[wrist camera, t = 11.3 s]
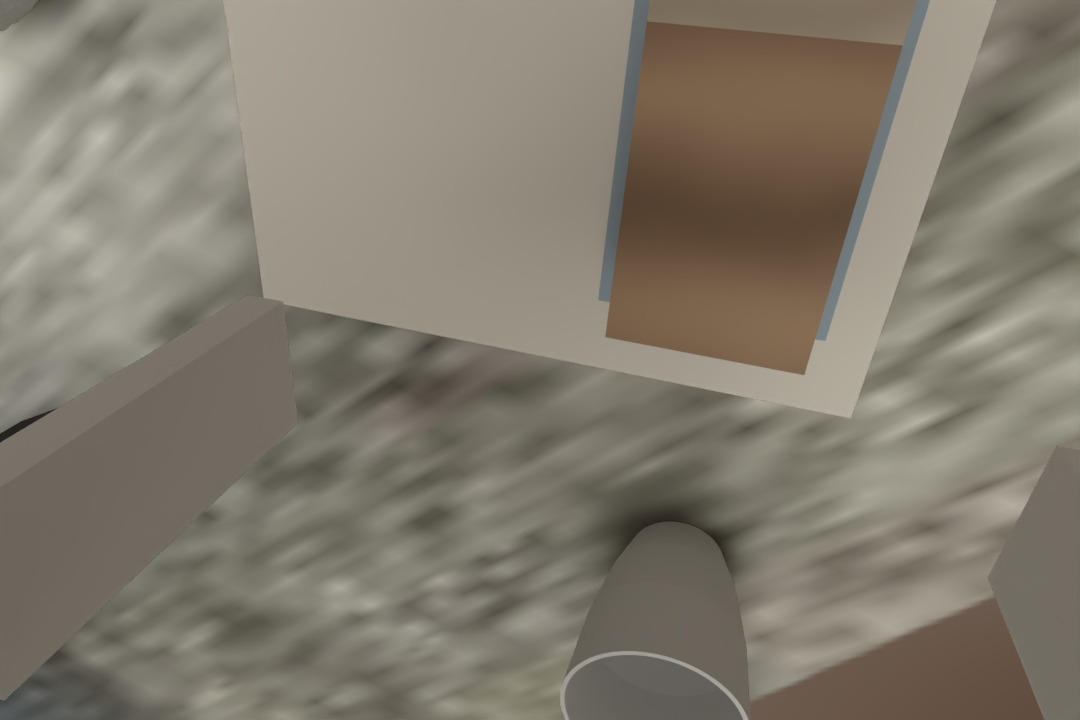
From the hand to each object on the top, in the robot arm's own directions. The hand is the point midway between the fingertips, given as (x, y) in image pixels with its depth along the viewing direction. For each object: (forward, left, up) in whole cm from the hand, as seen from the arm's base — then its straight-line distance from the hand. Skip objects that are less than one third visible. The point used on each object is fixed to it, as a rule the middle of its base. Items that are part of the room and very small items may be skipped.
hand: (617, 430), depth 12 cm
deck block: (+1, +2, -19) cm, 19 cm away
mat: (-7, +2, -19) cm, 20 cm away
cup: (+2, -21, -20) cm, 28 cm away
